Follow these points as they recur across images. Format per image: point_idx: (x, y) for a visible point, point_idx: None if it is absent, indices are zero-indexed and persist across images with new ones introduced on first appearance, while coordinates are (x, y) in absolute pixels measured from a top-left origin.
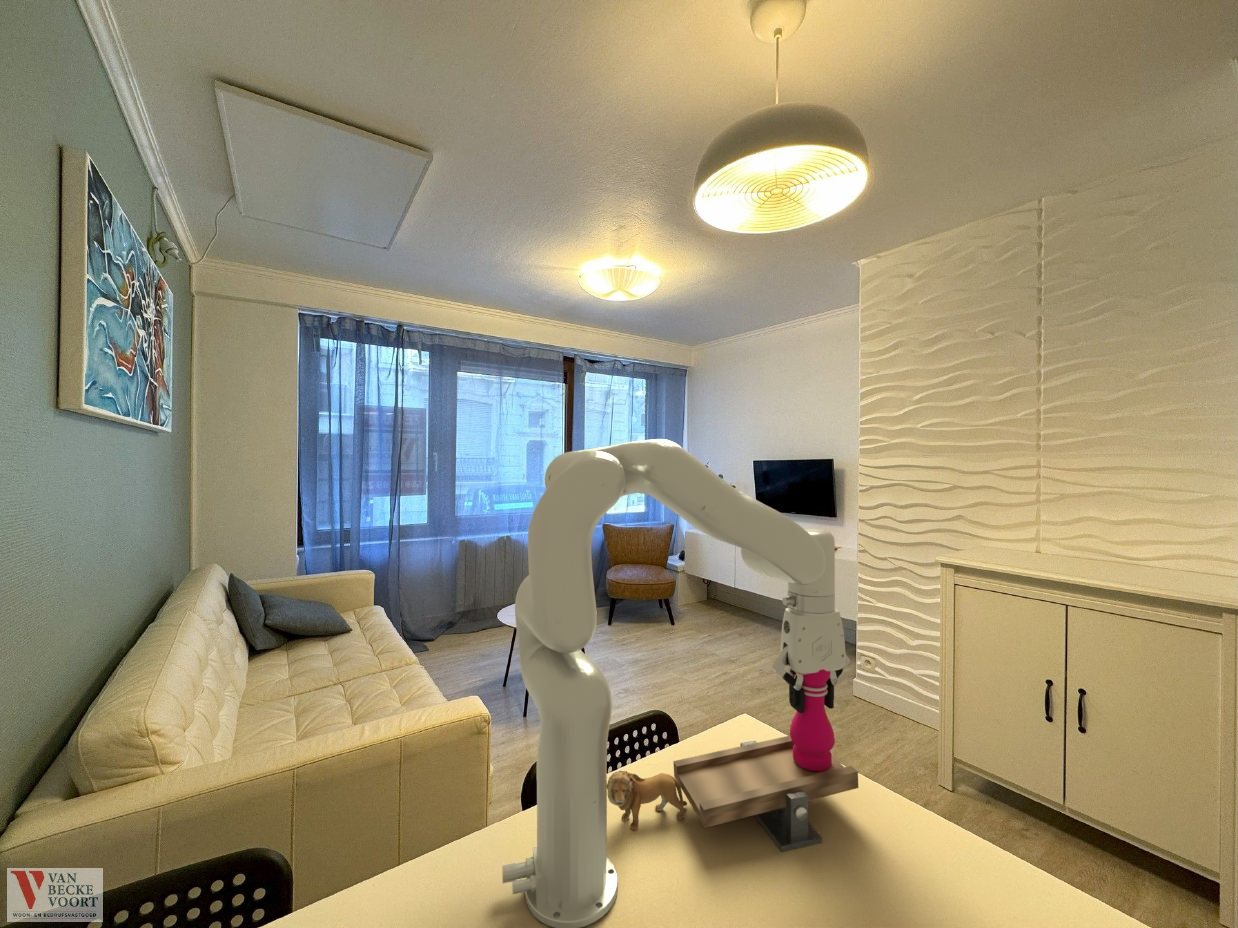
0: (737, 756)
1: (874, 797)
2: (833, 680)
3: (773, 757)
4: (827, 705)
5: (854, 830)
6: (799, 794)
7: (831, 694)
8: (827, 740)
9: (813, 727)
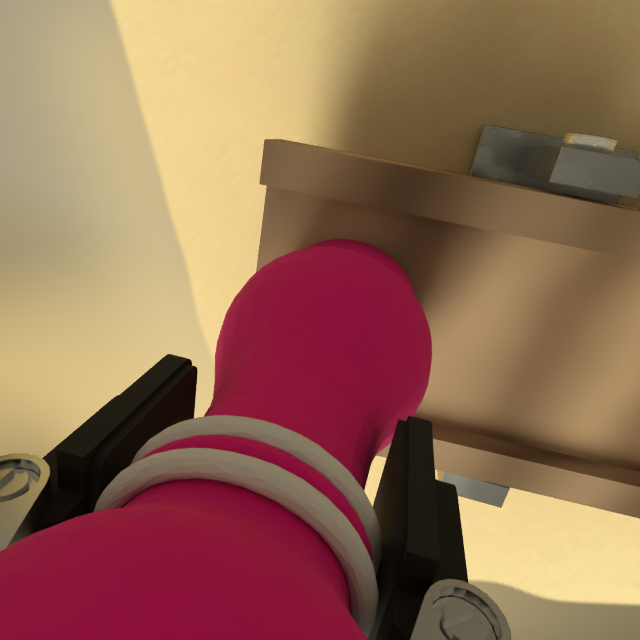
0: (575, 463)
1: (183, 198)
2: (8, 492)
3: (446, 398)
4: (191, 387)
5: (348, 120)
6: (588, 170)
7: (131, 408)
8: (323, 260)
9: (372, 329)
